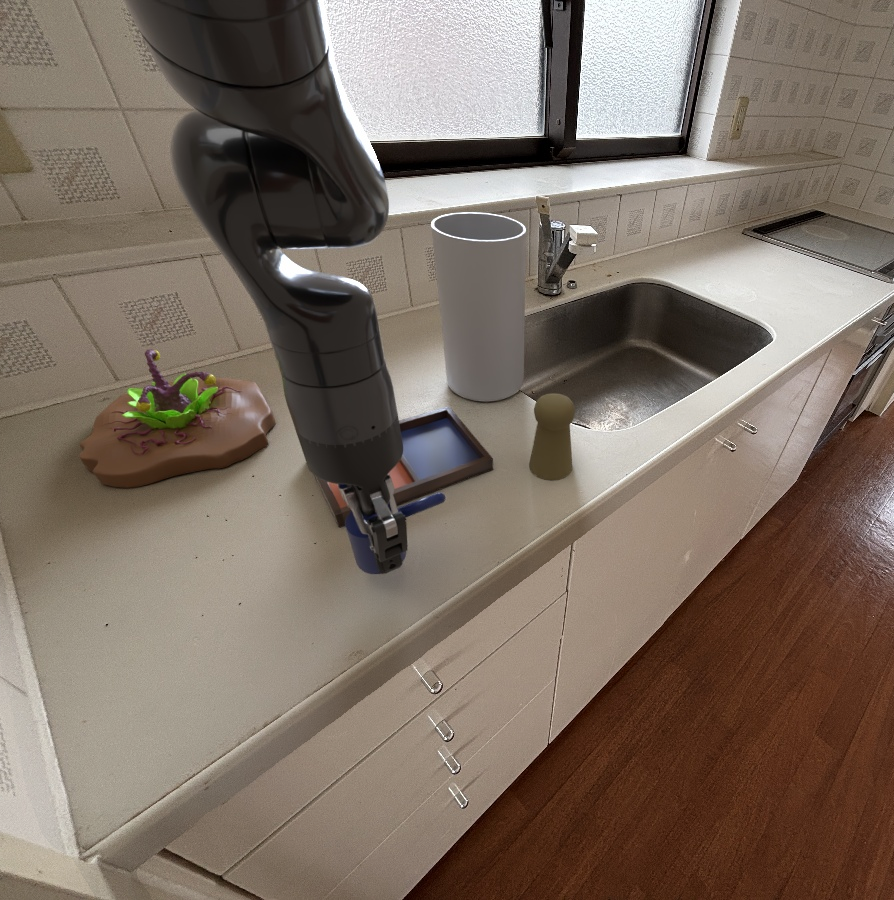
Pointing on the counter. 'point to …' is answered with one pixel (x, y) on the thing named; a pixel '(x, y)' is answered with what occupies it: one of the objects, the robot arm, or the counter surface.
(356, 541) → the blue scoop
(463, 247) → the cylinder vase
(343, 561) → the counter surface
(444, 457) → the tray
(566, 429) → the olive pawn figure
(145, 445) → the plant
